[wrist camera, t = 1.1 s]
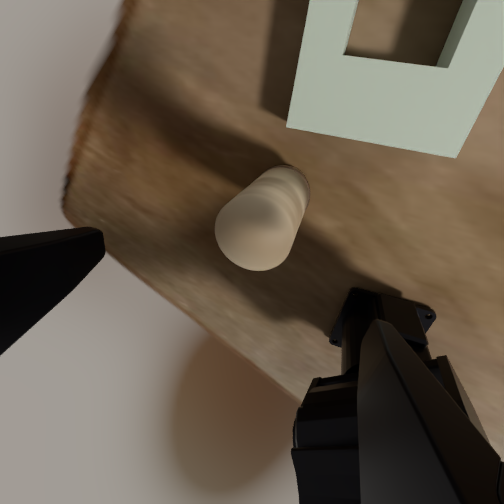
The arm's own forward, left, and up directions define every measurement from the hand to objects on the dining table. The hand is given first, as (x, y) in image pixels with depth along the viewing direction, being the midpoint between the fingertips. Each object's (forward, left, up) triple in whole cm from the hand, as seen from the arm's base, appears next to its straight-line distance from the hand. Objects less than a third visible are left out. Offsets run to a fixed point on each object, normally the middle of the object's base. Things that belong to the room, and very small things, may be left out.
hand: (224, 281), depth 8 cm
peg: (0, 0, -13) cm, 13 cm away
